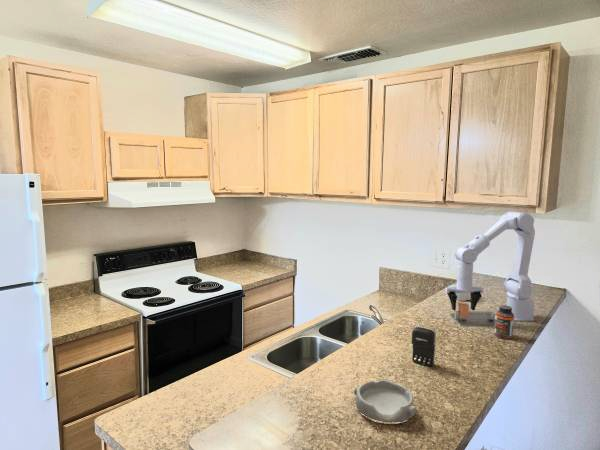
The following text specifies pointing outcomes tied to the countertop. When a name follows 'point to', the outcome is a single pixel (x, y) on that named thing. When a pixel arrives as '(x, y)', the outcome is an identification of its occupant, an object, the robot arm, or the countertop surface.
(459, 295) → the ramekin
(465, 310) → the block
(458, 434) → the countertop surface
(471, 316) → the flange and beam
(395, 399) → the dish
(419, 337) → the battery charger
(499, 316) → the supplement bottle
